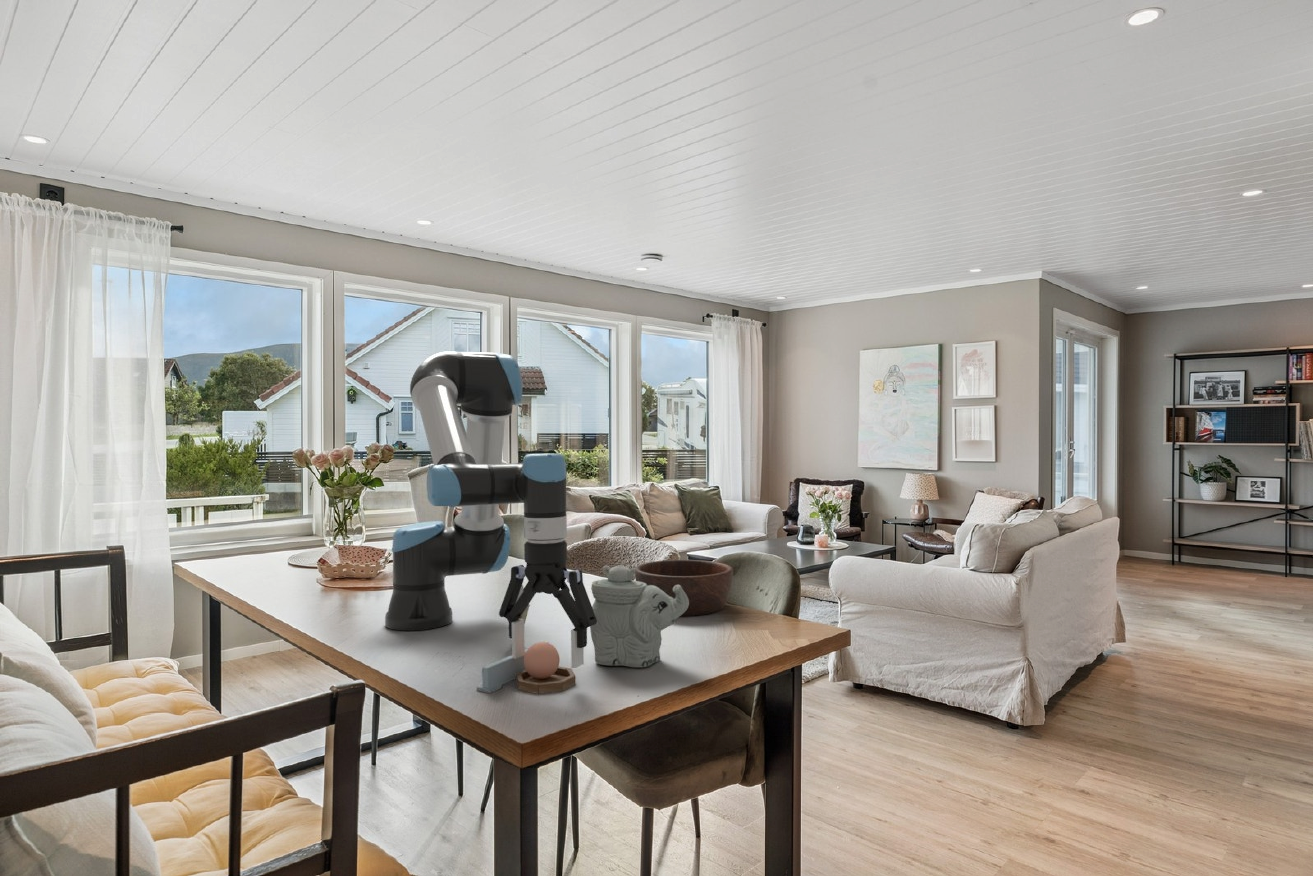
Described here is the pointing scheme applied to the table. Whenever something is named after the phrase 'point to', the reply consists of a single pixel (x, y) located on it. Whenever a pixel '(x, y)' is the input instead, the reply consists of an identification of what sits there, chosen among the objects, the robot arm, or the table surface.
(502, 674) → the low wall
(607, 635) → the teapot
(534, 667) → the ball
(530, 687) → the cork ring
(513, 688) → the table surface
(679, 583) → the wooden bowl
